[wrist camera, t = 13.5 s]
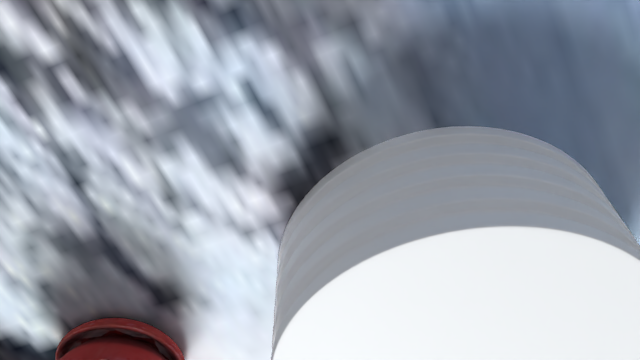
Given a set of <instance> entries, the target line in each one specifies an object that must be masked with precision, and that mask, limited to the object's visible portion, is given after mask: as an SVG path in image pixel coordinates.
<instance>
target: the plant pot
mask: <svg viewBox="0 0 640 360" xmlns="http://www.w3.org/2000/svg"><path fill="white" fill-rule="evenodd" d="M56 360H185V359H184V356H183V354H182V352H181V351H180V349H179V347H178V346H177V344H176V343H175V342H174V341H173V340H172V339H171V338H170V337H169V336H167V335H166V334H165V333H163V332H162V331H160V330H159V329H157V328H155V327H153V326H151V325H149V324H146V323H143V322H140V321H136V320H132V319H125V318H105V319H98V320H93V321H89V322H87V323H84V324H82V325H80V326H78V327H76V328H74V329H72V330H71V331H70V332H68V333H67V334H66V335H65V336H64V338H63V339H62V340H61V342H60V343H59V345H58V348H57V351H56Z"/></svg>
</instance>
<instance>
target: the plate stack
mask: <svg viewBox="0 0 640 360" xmlns="http://www.w3.org/2000/svg"><path fill="white" fill-rule="evenodd" d="M271 360H640V245H639V244H638V243H637V241H636V240H635V238H634V236H633V235H632V233H631V232H630V230H629V229H628V228H627V226H626V225H625V223H624V222H623V221H622V219H621V218H620V216H619V215H618V213H617V212H616V210H615V209H614V207H613V206H612V204H611V203H610V202H609V200H608V199H607V198H606V196H605V195H604V193H603V191H602V190H601V189H600V187H599V186H598V184H597V183H596V181H595V180H594V179H593V177H592V176H591V175H590V174H589V173H588V172H587V170H586V169H585V168H584V167H582V166H581V165H580V164H579V163H578V162H577V161H576V160H575V159H573V158H572V157H570V156H569V155H568V154H566V153H565V152H563V151H562V150H560V149H558V148H556V147H555V146H553V145H551V144H549V143H547V142H544V141H542V140H540V139H537V138H534V137H532V136H529V135H525V134H522V133H518V132H514V131H510V130H505V129H499V128H491V127H480V126H454V127H442V128H434V129H428V130H422V131H418V132H413V133H409V134H406V135H402V136H399V137H396V138H392V139H390V140H387V141H384V142H382V143H379V144H377V145H374V146H372V147H370V148H368V149H366V150H364V151H362V152H360V153H358V154H356V155H355V156H353V157H351V158H349V159H348V160H346V161H345V162H343V163H342V164H340V165H339V166H337V167H336V168H335V169H333V170H332V171H331V172H329V173H328V174H327V175H326V176H325V177H323V178H322V179H321V180H320V181H319V182H318V183H317V184H316V185H315V186H314V187H313V188H312V189H311V190H310V191H309V192H308V194H307V195H306V196H305V197H304V198H303V200H302V201H301V202H300V204H299V205H298V206H297V208H296V210H295V211H294V213H293V214H292V216H291V218H290V220H289V222H288V224H287V226H286V229H285V231H284V234H283V237H282V240H281V244H280V248H279V254H278V265H277V280H276V299H275V309H274V326H273V339H272V356H271Z"/></svg>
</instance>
